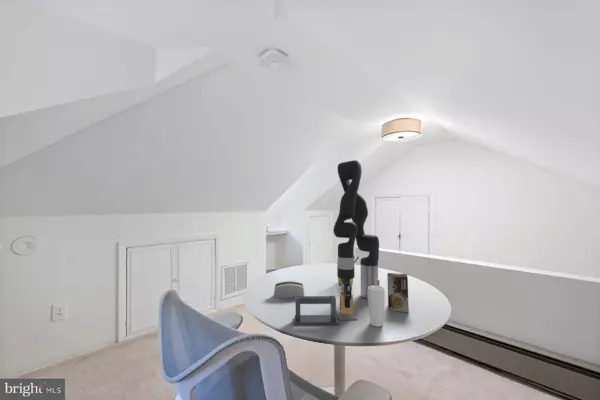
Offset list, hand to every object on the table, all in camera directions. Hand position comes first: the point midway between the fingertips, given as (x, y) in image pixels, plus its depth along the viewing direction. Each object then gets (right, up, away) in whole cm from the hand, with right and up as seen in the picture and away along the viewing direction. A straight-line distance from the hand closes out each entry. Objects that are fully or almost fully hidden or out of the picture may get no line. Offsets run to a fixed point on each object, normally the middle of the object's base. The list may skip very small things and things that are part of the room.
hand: (346, 304), depth 114 cm
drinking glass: (+11, -5, -8) cm, 15 cm away
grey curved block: (-27, -6, +24) cm, 36 cm away
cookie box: (+26, -5, +8) cm, 28 cm away
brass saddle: (0, -3, 0) cm, 3 cm away
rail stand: (-14, -5, -5) cm, 16 cm away
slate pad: (0, -5, 0) cm, 5 cm away
